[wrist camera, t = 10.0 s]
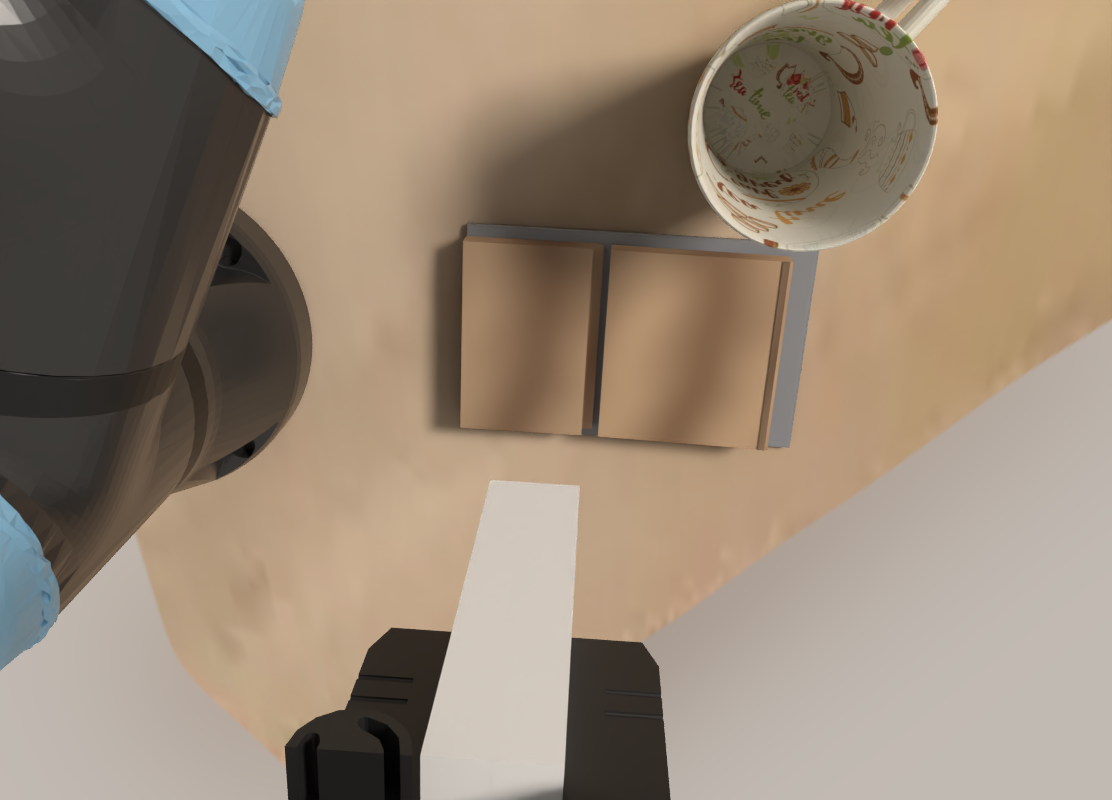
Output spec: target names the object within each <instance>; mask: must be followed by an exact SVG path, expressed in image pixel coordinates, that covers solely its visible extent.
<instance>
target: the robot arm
mask: <svg viewBox="0 0 1112 800" xmlns="http://www.w3.org/2000/svg"><path fill="white" fill-rule="evenodd" d="M304 2H305V0H0V670H2V669H3V668H4V667H5V666H6V665H7V664H9V663H10V662H11V661H12V660H13V659H14V658H15V657H17V656H18V655H19V654H20V653H22V652H23V651H25V650H27V649H30V648H31V647H32V646H33V645H34V644H36V643H38V642H40V641H41V640H42V639H43V638H44V637H45V636H46V634H47V632H48V630H49V629H50V628H51V627H52V626H53V624H54V622H56V620H57V617H58V615H59V614H60V613H61V611H62V610H63V609H64V608H65V607H66V606H67V605H68V604H69V603H70V602H71V601H72V600H73V599H74V597H75V596H76V595H77V594H78V593H79V592H80V591H81V590H82V589H83V588H84V587H85V586H86V585H87V584H88V582H89V581H90V580H91V579H92V578H93V577H94V576H95V575H96V574H97V573H98V572H99V571H100V570H101V568H102V567H103V566H104V565H105V564H106V563H107V562H108V561H109V560H110V559H111V558H112V557H113V556H114V555H115V553H116V552H117V551H118V550H119V549H120V548H121V547H122V546H123V545H124V544H125V543H126V542H127V541H128V539H129V538H130V537H131V536H132V535H133V534H134V533H135V532H136V531H137V530H138V529H139V528H140V527H141V525H142V524H143V523H144V522H145V521H146V520H147V519H148V518H149V517H150V516H151V515H152V514H153V513H154V512H155V510H156V509H157V508H158V507H159V506H160V505H161V504H162V503H163V502H164V501H165V500H166V498H167V497H168V496H169V495H170V494H172V493H176V492H179V491H182V490H185V489H188V488H192V487H195V486H198V485H201V484H205V483H208V482H211V481H214V480H217V479H219V478H221V477H224V476H226V475H228V474H230V473H232V472H234V471H235V470H237V469H239V468H240V467H242V466H243V465H245V464H247V463H248V462H249V461H251V460H252V459H253V458H255V457H256V456H257V455H258V454H259V453H260V452H262V451H263V450H264V449H265V448H266V447H267V446H268V444H269V443H270V442H271V441H272V440H273V439H274V438H275V436H276V435H277V434H278V433H279V432H280V430H281V429H282V428H283V427H284V425H285V424H286V423H287V422H288V420H289V419H290V417H291V416H292V414H293V413H294V411H295V410H296V408H297V406H298V404H299V402H300V400H301V397H302V395H303V393H304V390H305V387H306V384H307V381H308V376H309V372H310V366H311V358H312V333H311V324H310V318H309V313H308V309H307V305H306V302H305V299H304V295H303V293H302V290H301V287H300V285H299V282H298V280H297V278H296V276H295V274H294V272H293V270H292V268H291V267H290V265H289V263H288V261H287V260H286V258H285V257H284V255H283V254H282V252H281V251H280V249H279V248H278V247H277V245H276V244H275V243H274V241H273V240H272V239H271V238H270V237H269V236H268V234H267V233H266V232H265V231H264V230H263V229H262V228H261V227H260V226H259V225H258V224H257V223H256V222H255V221H254V220H253V219H252V218H251V217H249V216H248V215H247V214H246V213H245V212H243V211H242V210H241V209H240V208H238V207H239V204H240V202H241V199H242V196H243V193H244V190H245V188H246V185H247V182H248V179H249V176H250V174H251V171H252V168H253V165H254V162H255V160H256V157H257V154H258V151H259V149H260V146H261V143H262V140H263V137H264V135H265V132H266V129H267V126H268V123H269V121H270V118H271V117H274V118H278V115H279V113H280V111H281V108H282V101H281V99H280V97H279V94H278V92H279V89H280V86H281V82H282V79H283V76H284V73H285V69H286V66H287V63H288V60H289V56H290V53H291V50H292V47H293V43H294V40H295V37H296V33H297V30H298V27H299V24H300V20H301V17H302V13H303V9H304ZM579 488H580V486H575V485H560V484H544V483H529V482H514V481H498V480H490V484H489V488H488V492H487V496H486V500H485V504H484V507H483V511H482V515H481V519H480V523H479V527H478V531H477V535H476V539H475V543H474V547H473V551H472V555H471V558H470V562H469V566H468V570H467V574H466V578H465V582H464V586H463V590H462V594H461V598H460V602H459V606H458V609H457V613H456V617H455V621H454V625H453V629H452V632H445V631H431V630H416V629H402V628H391V629H390V630H389V631H388V632H386V633H385V634H384V635H383V636H382V637H381V638H380V639H379V640H378V641H377V642H375V643H374V644H373V645H372V646H371V647H370V648H369V649H368V652H367V654H366V657H365V659H364V662H363V665H362V667H361V670H360V672H359V678H358V679H357V680H356V683H355V685H354V688H353V691H352V693H351V699H350V700H349V701H348V704H347V706H346V709H345V710H339V711H335V712H332V713H329V714H326V715H323V716H320V717H317V718H315V719H313V720H312V721H310V722H309V723H307V724H306V725H304V726H303V727H301V728H300V729H298V730H297V731H296V732H295V734H294V735H293V736H292V738H291V739H290V740H289V742H288V743H287V744H286V746H285V757H286V772H287V788H288V800H670V789H669V778H668V766H667V755H666V743H665V733H664V721H663V710H662V699H661V686H660V676H659V666H658V665H657V663H656V662H655V660H654V659H653V658H652V656H651V655H650V653H649V652H648V651H647V649H646V648H645V646H644V645H643V643H640V642H626V641H611V640H597V639H582V638H572V619H573V600H574V582H575V563H576V544H577V525H578V507H579Z"/></svg>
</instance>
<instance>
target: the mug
mask: <svg viewBox="0 0 1112 800" xmlns="http://www.w3.org/2000/svg"><path fill="white" fill-rule="evenodd" d="M912 1H913V0H883V1H882V2H881V3H880V4H879V5H878V6H877V8H876V9H873V8H871V7H868V6H866V5H864V4H861V3H857V2H854V1H850V0H797V1H793V2H789V3H785V4H783V5H780V6H777V7H774V8H772V9H770V10H768V11H766V12H764V13H762V14H760V15H758V16H757V17H755V18H753V19H751V20H750V21H749V22H747V23H746V24H744V25H743V26H742V27H740V28H739V29H738V30H737V31H736V32H735V33H733V34H732V35H731V36H730V37H729V38H728V39H727V40H726V41H725V42H724V43H723V44H722V46H721V47H720V48H719V49H718V50H717V52H716V53H715V54H714V56H713V57H712V58H711V60H710V61H709V63H708V65H707V66H706V68H705V70H704V72H703V74H702V76H701V78H700V80H699V82H698V84H697V87H696V90H695V92H694V96H693V99H692V103H691V107H690V112H689V119H688V149H689V157H690V162H691V166H692V170H693V173H694V176H695V179H696V181H697V184H698V186H699V188H700V190H701V192H702V194H703V196H704V197H705V199H706V200H707V202H708V203H709V205H710V206H711V208H712V209H713V210H714V211H715V212H716V214H717V215H718V216H719V217H720V218H721V219H722V220H723V221H724V222H725V223H726V224H727V225H728V226H730V227H731V228H732V229H733V230H735V231H736V232H738V233H739V234H741V235H742V236H744V237H746V238H748V239H750V240H752V241H754V242H756V243H759V244H761V245H764V246H767V247H770V248H774V249H779V250H785V251H793V252H810V251H820V250H826V249H831V248H834V247H838V246H841V245H844V244H847V243H850V242H852V241H854V240H856V239H859V238H861V237H863V236H864V235H866V234H868V233H870V232H871V231H873V230H874V229H876V228H877V227H879V226H880V225H881V224H883V223H884V222H885V221H887V220H888V219H889V218H890V217H891V216H892V215H893V214H894V213H895V212H897V210H898V209H899V208H900V207H901V206H902V205H903V204H904V203H905V202H906V200H907V199H908V198H909V196H910V195H911V194H912V192H913V191H914V190H915V188H916V186H917V184H918V183H919V181H920V179H921V178H922V176H923V174H924V172H925V169H926V167H927V165H928V162H929V160H930V157H931V154H932V151H933V147H934V143H935V138H936V132H937V121H938V106H937V96H936V90H935V85H934V81H933V78H932V75H931V72H930V69H929V67H928V64H927V62H926V60H925V58H924V56H923V54H922V53H921V51H920V50H919V48H918V46H917V45H916V44H915V42H914V41H913V39H914V38H915V37H916V36H917V35H918V34H919V33H920V32H921V31H922V30H923V29H924V28H925V27H926V26H927V25H928V24H929V23H930V22H931V21H932V20H933V19H934V17H935V16H936V15H937V14H938V13H939V12H940V11H941V10H942V9H943V8H944V7H945V5H946V4H947V3H948V2H949V1H950V0H920V1H919V2H918V3H917V4H916V5H915V6H914V7H913V8H912V10H911V11H910V12H909V13H908V14H907V15H906V16H905V17H904V18H903V19H902V20H901V21H900V22H899V23H898V24H897V23H895V22H894V21H893V20H894V19H895V18H896V17H897V16H898V15H899V14H900V13H901V12H902V11H903V10H904V9H905V8H906V7H907V6H908V5H909V4H910V3H911V2H912Z"/></svg>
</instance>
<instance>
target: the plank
mask: <svg viewBox="0 0 1112 800" xmlns="http://www.w3.org/2000/svg"><path fill="white" fill-rule="evenodd" d="M793 263H794V262H793V261H792V259H791V258H790V256H775V255H760V254H745V253H730V252H715V251H700V250H686V249H671V248H656V247H641V246H626V245H612V248H611V259H610V273H609V287H608V301H607V316H606V330H605V344H604V358H603V372H602V386H601V400H600V414H599V429H598V437H611V438H623V439H635V440H648V441H660V442H673V443H685V444H697V445H710V446H722V447H735V448H747V449H758V450H767V448H768V441H769V433H770V426H771V419H772V412H773V405H774V398H775V391H776V384H777V377H778V370H779V362H780V355H781V348H782V341H783V334H784V327H785V320H786V313H787V306H788V299H789V291H790V284H791V277H792V270H793Z"/></svg>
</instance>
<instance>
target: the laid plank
mask: <svg viewBox="0 0 1112 800" xmlns="http://www.w3.org/2000/svg"><path fill="white" fill-rule="evenodd" d="M603 258H604V244H602V243H585V242H568V241H551V240H533V239H516V238H499V237H482V236H466V238H465V239H464V241H463V277H462V346H461V414H460V428H473V429H489V430H504V431H520V432H536V433H551V434H567V435H581V431H582V428H587V429H592V420H593V405H594V390H595V376H596V361H597V346H598V332H599V317H600V302H601V288H602V273H603Z"/></svg>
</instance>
